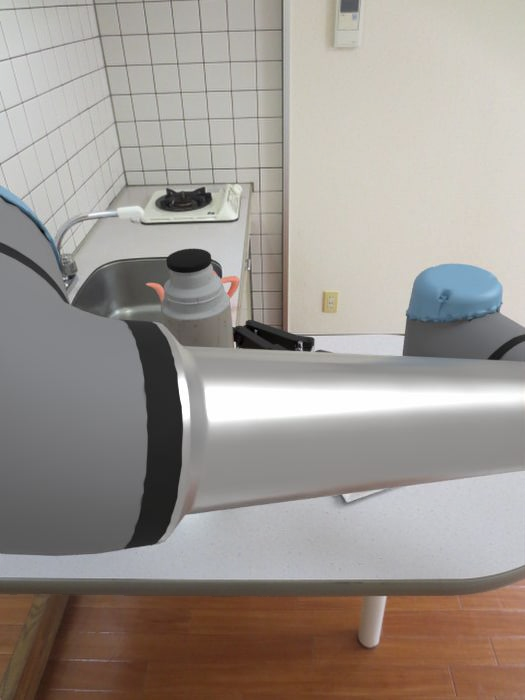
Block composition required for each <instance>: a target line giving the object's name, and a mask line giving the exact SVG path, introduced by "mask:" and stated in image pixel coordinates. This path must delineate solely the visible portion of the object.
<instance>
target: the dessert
mask: <svg viewBox="0 0 525 700" xmlns="http://www.w3.org/2000/svg"><path fill="white" fill-rule="evenodd" d="M384 490H385V489H380V490H372V491H365V492H357V493H349V494H342V498H343V499H344V500H345V502H346V503H349V502H352V501H355V500H358V499H361V498H364V497H367V496H370V495H373V494H375V493H378V492H381V491H384Z"/></svg>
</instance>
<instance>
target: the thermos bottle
mask: <svg viewBox="0 0 525 700" xmlns="http://www.w3.org/2000/svg"><path fill="white" fill-rule="evenodd" d="M212 260H213V259H212V255H211V253H210V252H209V251H208V250H205V249H203V248H185V249H180V250H179V249H178V250H177V251H174V252H172V253H171V254H169V255H168V256H167V257H166V267H167V268H168V273H169V274H168V275H169V279H167V280H166V281H165V283H164V285H163V289H164V299H163V300H162V303H161V302H160V311H161V318H162V322H163V323H162V324H163V325H164V326H165V327H166V328H167V329H168V330H169V331H170V332H171V334H172V335H173V336H174V337H175V338H176V340H177V341H178V342H179V343H180V344H181V345H182V346H194V347H216V348H235V342H234V339H233V328H232V327H233V318H232V309H231V308H232V307H231V298H229V296H228V294H227V293H228V292H226V290H225V286H224V283H223V284H222V280H221V277H220V276H219V275H218V274H217V273H216V274H217V275H218V276H217V275H216V274H214V273H213V270H214V268H213V267H214V266H213V264H212ZM224 290H225V291H224Z"/></svg>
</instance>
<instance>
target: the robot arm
mask: <svg viewBox="0 0 525 700" xmlns="http://www.w3.org/2000/svg"><path fill="white" fill-rule="evenodd" d="M61 263H62V262H61V257H60V253H59V249H58V248H57V245H56V243H55V240H54V238H53V236H52V235H51V233H50V232H49V230H48V229H47V227H46V226H45V224H44V223H43V222H42V221H41V220H40V219H39V217H38V216H37V214H36V213H35V212H34V211H33V210H32V209H31V208H30V207H29V205H28V204H27V203H25V202H24V201H23V200H22V199H21V198H20V197H19V196H17V195H16V194H15V193H13V192H12V191H11V190H10V189H7V188H5V187H4V186H2V185H0V555H16V556H18V555H20V556H43V557H45V556H47V557H62V556H63V557H64V556H65V557H67V556H81V555H82V556H83V555H84V556H85V555H99V554H105V553H112V552H119V551H123V550H129V549H135V548H142V547H148V546H150V547H151V546H155V545H160V544H162V543H164V542H166V541H167V540H168V539H169V538H170V537H171V535H172V534H173V533H174V531H175V530H176V528H177V527H178V526H179V524H180V523H181V522H182V520H183V519H184V517H186V516H187V515H194V514H195V515H196V514H203V513H212V512H218V511H226V510H227V511H228V510H234V509H235V510H236V509H242V508H249V507H257V506H264V505H273V504H278V503H288V502H295V501H303V500H310V499H319V498H326V497H333V496H341V495H342V494H349V493H357V492H365V491H372V490H380V489H384V490H387V489H394V488H395V489H396V488H401V487H402V488H403V487H409V486H418V485H425V484H426V485H427V484H432V483H440V482H448V481H449V482H450V481H456V480H462V479H472V478H479V477H486V476H494V475H502V474H509V473H517V472H524V471H525V326H523V325H521V324H520V323H518V322H516V321H514V320H513V319H511V318H509V317H508V316H506V315H505V314H502V312H501V307H502V305H503V304H504V303H503V293H504V289H503V284H502V283H501V282H500V281H499V280H498V278H497V276H496V275H495V274H494V273H492V272H491V271H488V270H487V269H485V268H482V267H479V266H476V265H472V264H466V263H442V264H439V265H436V266H430V267H427V268H425V269H424V270H422V271H421V272H419V274H418V275H416V277H415V278H414V281H413V284H412V289H411V293H410V298H409V303H408V307H407V309H406V311H405V316H406V318H405V319H406V320H405V327H404V328H405V329H404V335H403V336H404V338H403V344H402V345H403V347H402V354H401V355H394V354H393V355H390V354H371V353H369V354H368V353H367V354H366V353H348V352H347V353H346V352H332V351H330V350H329V351H328V350H325V349H317V350H315V341H316V339H315V338H314V337H313V336H306V335H298V334H295V333H291V332H289V331H286V330H283V329H280V328H277V327H274V326H272V325H268V324H265V323H263V322H259V321H257V320H254V319H248V320H246V321H245V324H243V325H236V326H235V327H234V326H232V328H233V339H234V343H235V347H234V348H216V347H194V346H182V345H181V344H180V343H179V342H178V341H177V340H176V338H175V337H174V336H173V335H172V334H171V332H170V331H169V330H168V329H167V328H166V327H165V326H164V323H160V322H158V321H149V320H133V319H120V318H119V319H117V318H113V317H112V318H111V317H106V316H100V315H97V314H94V313H91V312H88V311H85V310H82V309H80V308H78V307H76V306H74V305H72V304H71V301H70V298H69V295H68V292H67V289H66V285H65V283H64V279H63V276H62V272H61V267H62V264H61Z"/></svg>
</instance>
